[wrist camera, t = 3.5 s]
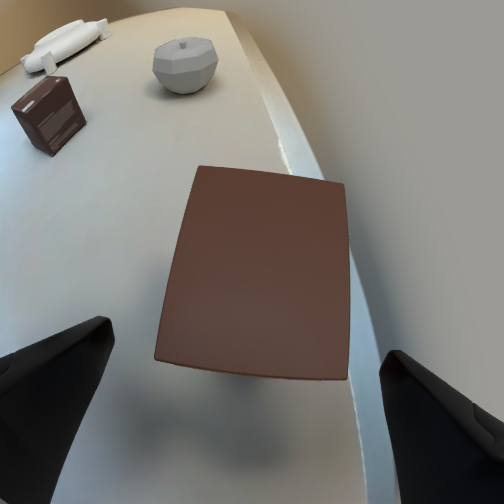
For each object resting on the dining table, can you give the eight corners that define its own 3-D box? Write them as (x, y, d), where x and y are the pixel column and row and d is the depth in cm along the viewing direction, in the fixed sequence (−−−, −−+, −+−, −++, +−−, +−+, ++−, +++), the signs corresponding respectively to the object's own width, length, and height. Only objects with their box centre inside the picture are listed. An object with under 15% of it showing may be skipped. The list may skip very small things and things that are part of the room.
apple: (147, 87, 28) (138, 45, 22) (200, 67, 30) (198, 27, 24) (171, 112, 26) (162, 61, 20) (232, 89, 28) (233, 41, 22)
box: (66, 116, 26) (47, 74, 19) (88, 123, 25) (68, 75, 18) (33, 147, 24) (9, 107, 17) (52, 158, 23) (24, 112, 16)
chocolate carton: (275, 374, 16) (350, 382, 5) (209, 367, 16) (149, 361, 5) (282, 298, 18) (346, 182, 7) (220, 290, 18) (196, 163, 7)
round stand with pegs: (41, 56, 41) (34, 38, 34) (117, 24, 44) (113, 3, 38) (9, 97, 32) (-2, 74, 25) (101, 52, 35) (94, 24, 29)
